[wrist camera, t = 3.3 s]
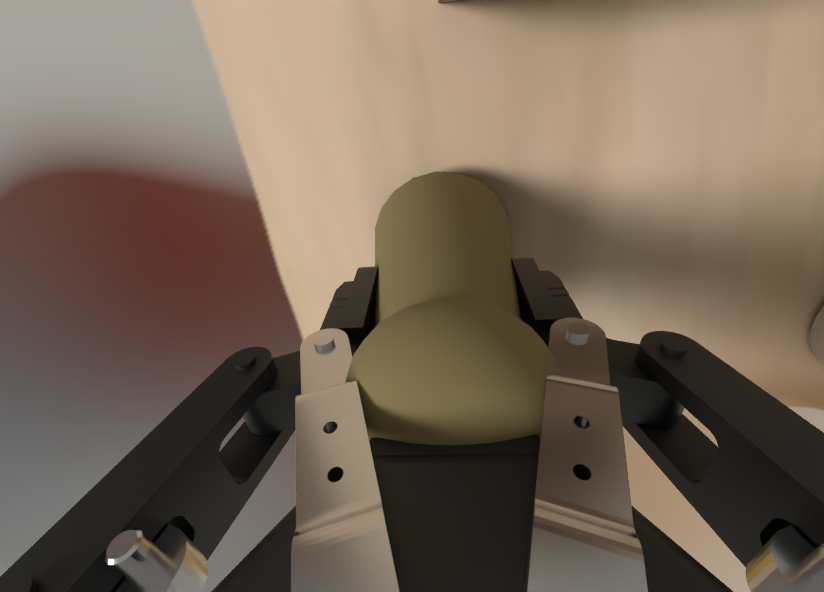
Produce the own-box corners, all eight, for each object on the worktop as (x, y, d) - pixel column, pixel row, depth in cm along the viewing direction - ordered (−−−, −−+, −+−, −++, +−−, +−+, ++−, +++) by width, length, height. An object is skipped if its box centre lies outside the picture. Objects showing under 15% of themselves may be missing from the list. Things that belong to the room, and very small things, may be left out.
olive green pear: (415, 142, 14) (385, 304, 5) (539, 215, 15) (697, 448, 6) (353, 262, 17) (264, 500, 8) (462, 314, 18) (492, 568, 9)
